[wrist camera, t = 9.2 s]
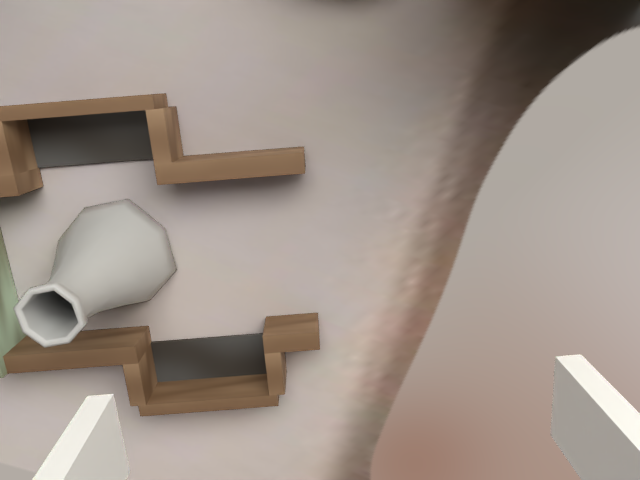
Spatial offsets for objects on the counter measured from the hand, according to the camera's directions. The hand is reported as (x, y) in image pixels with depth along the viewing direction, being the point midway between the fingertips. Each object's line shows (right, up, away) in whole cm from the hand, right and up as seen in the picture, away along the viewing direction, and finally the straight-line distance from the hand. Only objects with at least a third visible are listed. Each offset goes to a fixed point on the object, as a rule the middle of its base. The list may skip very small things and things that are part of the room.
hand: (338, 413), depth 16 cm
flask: (-14, +4, +19) cm, 24 cm away
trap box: (-12, +4, +19) cm, 23 cm away
